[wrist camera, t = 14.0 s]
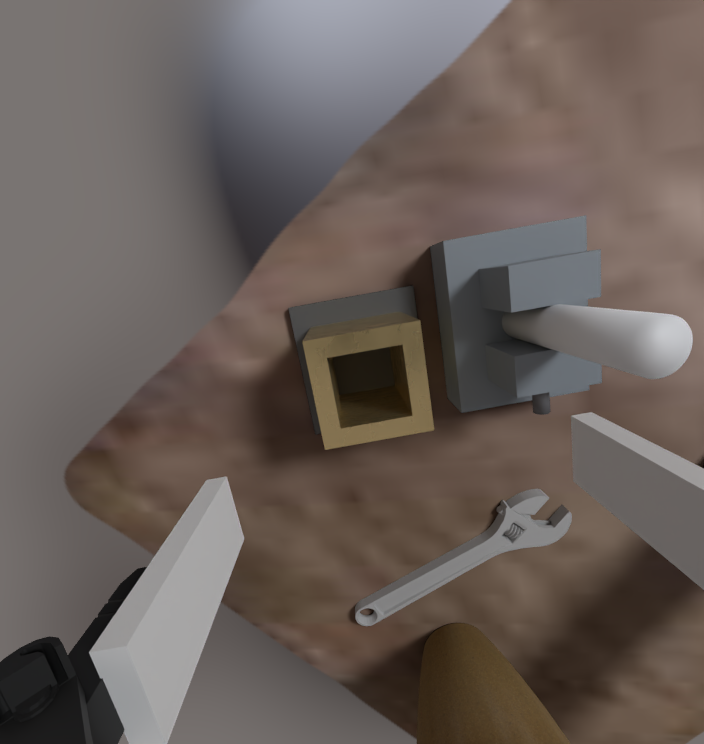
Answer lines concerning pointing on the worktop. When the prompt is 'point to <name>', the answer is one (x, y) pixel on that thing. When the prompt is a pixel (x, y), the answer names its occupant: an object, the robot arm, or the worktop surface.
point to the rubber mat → (356, 367)
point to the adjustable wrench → (471, 553)
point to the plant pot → (477, 694)
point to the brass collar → (376, 406)
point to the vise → (539, 319)
